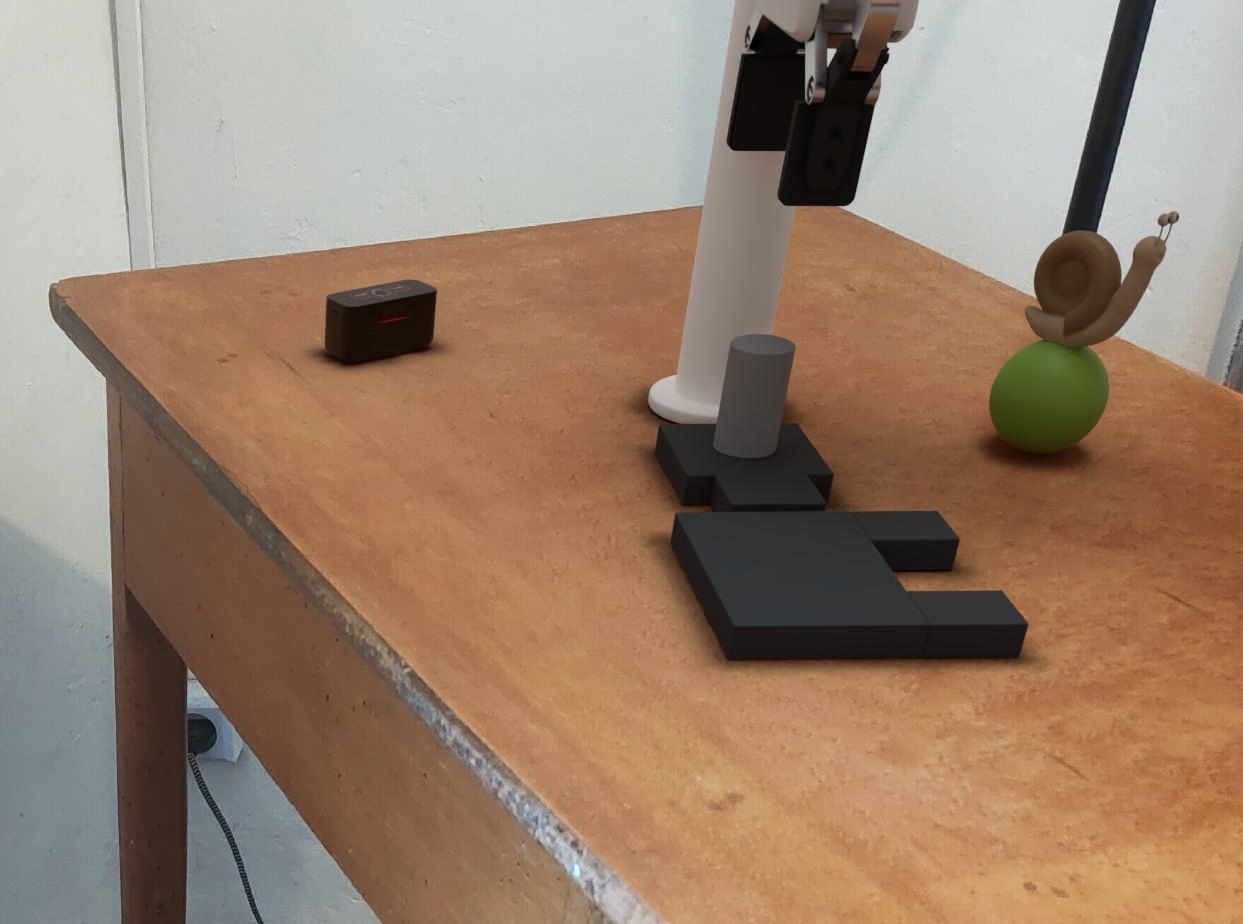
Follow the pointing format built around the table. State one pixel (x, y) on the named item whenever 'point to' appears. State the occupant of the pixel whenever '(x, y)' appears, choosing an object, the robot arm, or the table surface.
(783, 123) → the robot arm
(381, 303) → the black bluetooth speaker
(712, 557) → the dock pad
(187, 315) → the table surface
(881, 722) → the table surface
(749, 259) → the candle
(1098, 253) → the snail figurine
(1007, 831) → the table surface
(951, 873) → the table surface
